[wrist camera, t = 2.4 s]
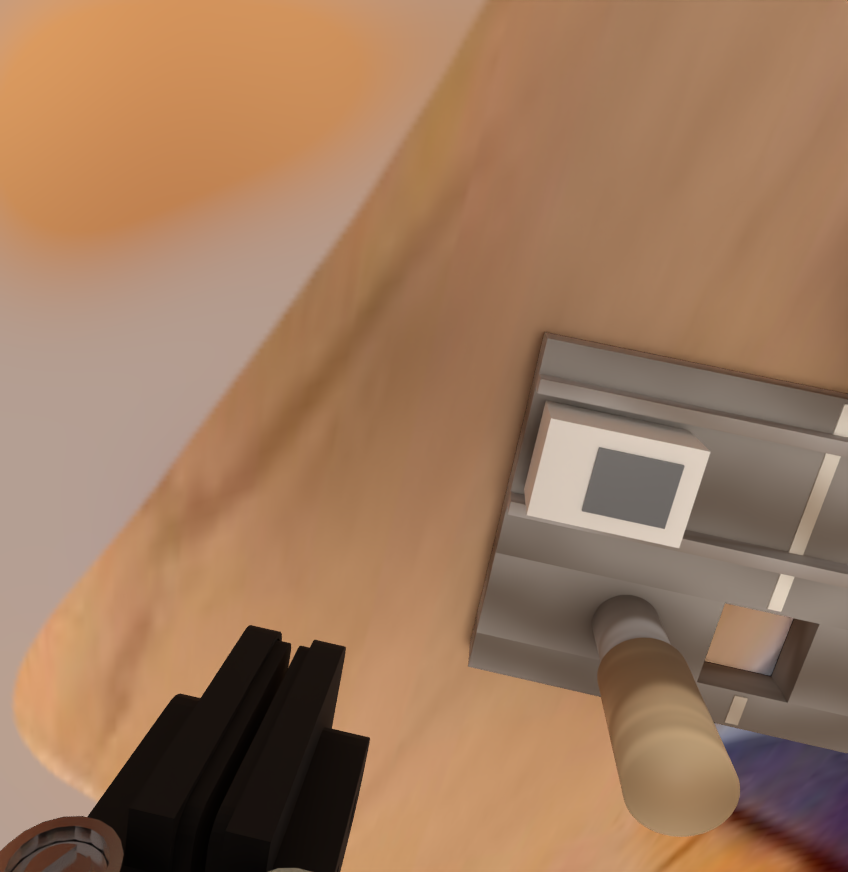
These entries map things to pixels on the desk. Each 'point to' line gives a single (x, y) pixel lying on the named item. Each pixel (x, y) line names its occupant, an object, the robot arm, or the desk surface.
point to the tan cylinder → (659, 725)
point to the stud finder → (614, 474)
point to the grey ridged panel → (689, 541)
